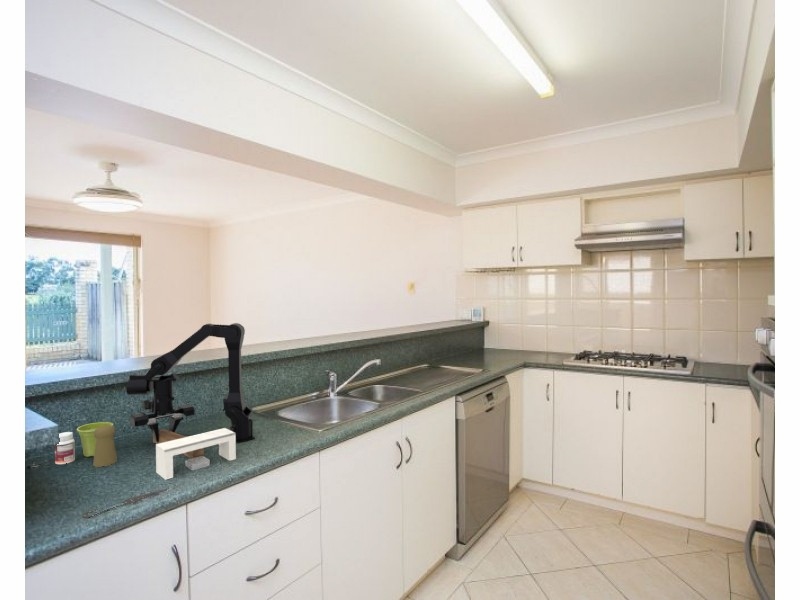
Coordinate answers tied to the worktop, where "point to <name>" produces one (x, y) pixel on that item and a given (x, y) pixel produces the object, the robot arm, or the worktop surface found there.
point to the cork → (104, 446)
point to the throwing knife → (135, 500)
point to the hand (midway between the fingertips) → (163, 440)
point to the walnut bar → (169, 436)
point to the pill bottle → (65, 448)
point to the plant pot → (89, 437)
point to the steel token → (197, 462)
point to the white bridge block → (194, 448)
